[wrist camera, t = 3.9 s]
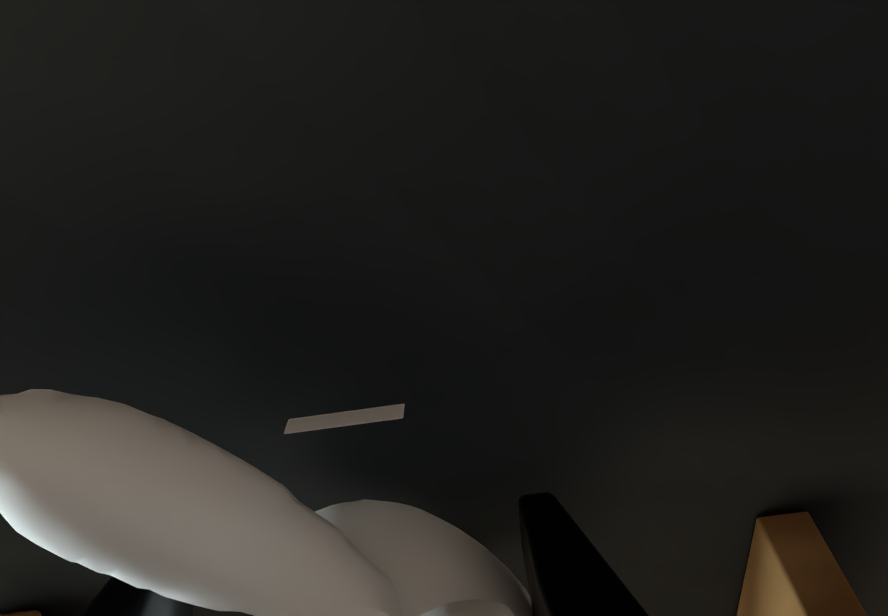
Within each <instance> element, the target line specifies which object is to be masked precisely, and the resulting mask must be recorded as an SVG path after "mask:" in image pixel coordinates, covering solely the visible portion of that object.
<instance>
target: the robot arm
mask: <svg viewBox="0 0 888 616" xmlns="http://www.w3.org/2000/svg"><path fill="white" fill-rule="evenodd" d="M519 517H520V530H521V542H522V550H523V556H524V562H525V568H526V574H527V580H528V586H529V592H530V598H531V604H532V610H533V616H648V614H647V613H646V612H645V610H644V609H643V608H642V607H641V605H640V604H639V603H638V602H637V600H636V599H635V598H634V596H633V595H632V594H631V593H630V591H629V590H628V589H627V588H626V586H625V585H624V584H623V582H622V581H621V580H620V579H619V577H618V576H617V575H616V574H615V572H614V571H613V570H612V569H611V567H610V566H609V565H608V563H607V562H606V561H605V560H604V558H603V557H602V556H601V555H600V553H599V552H598V551H597V549H596V548H595V547H594V546H593V544H592V543H591V542H590V541H589V539H588V538H587V537H586V535H585V534H584V533H583V532H582V530H581V529H580V528H579V527H578V525H577V524H576V523H575V521H574V520H573V519H572V518H571V516H570V515H569V514H568V513H567V511H566V510H565V509H564V507H563V506H562V505H561V504H560V502H559V501H558V500H557V499H556V497H555V496H553V495H552V494H551V493H549V492H544V493H536V494H528V495H523V496H521V497H520V498H519ZM192 614H193V605H192V604H188V603H185V602H181V601H178V600H174V599H171V598H167V597H164V596H162V595H160V594H158V593H156V592H153V591H151V590H149V589H141V588H136V587H134V586H132V585H130V584H128V583H126V582H123V581H121V580H119V579H117V578H115V577H113V576H112V577H111V578H110V579H109V581H108V582H107V583H106V584H105V585H104V587H103V588H102V589H101V590H100V592H99V593H98V594H97V595H96V597H95V598H94V599H93V600H92V602H91V603H90V604H89V605H88V606H87V608H86V609H85V610H84V611H83V613H82V614H81V615H80V616H192Z"/></svg>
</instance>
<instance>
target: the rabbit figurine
mask: <svg viewBox="0 0 888 616" xmlns="http://www.w3.org/2000/svg"><path fill="white" fill-rule="evenodd" d="M404 406H405V404H397V405H390V406H383V407H375V408H368V409H360V410H353V411H345V412H338V413H331V414H323V415H316V416H308V417H301V418H294V419H289V420H288V422H287V425H286V428H285V431H284V434H289V433H297V432H304V431H312V430H319V429H327V428H334V427H342V426H349V425H357V424H364V423H372V422H379V421H387V420H394V419H402V418H403V416H404ZM0 513H1V515H2V516H3V517H4V518H5V519H6V520H7V522H8V523H9V524H10V525H11V526H12V527H13V528H14V530H15V531H16V532H18V533H19V534H21V535H22V536H24V537H26V538H27V539H29V540H30V541H32V542H33V543H35V544H37V545H39V546H41V547H42V548H44V549H46V550H48V551H50V552H52V553H54V554H56V555H58V556H60V557H62V558H64V559H66V560H68V561H70V562H76V563H79V564H81V565H83V566H85V567H87V568H89V569H92V570H94V571H96V572H98V573H102V574H107V575H111V576H113V577H115V578H117V579H119V580H121V581H123V582H126V583H128V584H130V585H132V586H134V587H136V588H141V589H149V590H151V591H153V592H156V593H158V594H160V595H162V596H164V597H167V598H171V599H174V600H178V601H181V602H185V603H188V604H192V605H196V606H200V607H204V608H208V609H212V610H217V611H240V612H243V613H247V614H250V615H254V616H533V610H532V604H531V598H530V596H529V594H528V592H527V591H526V589H525V588H524V587H523V585H522V584H521V583H520V582H519V581H518V579H517V578H516V577H515V576H514V575H513V573H512V572H511V571H510V570H509V569H508V568H507V567H506V566H505V565H504V564H503V563H502V562H501V561H499V560H498V559H497V558H496V557H495V556H494V555H493V554H492V553H491V552H490V551H488V550H487V549H486V548H485V547H484V546H483V545H481V544H480V543H479V542H477V541H476V540H475V539H473V538H472V537H470V536H469V535H467V534H466V533H465V532H463V531H462V530H460V529H458V528H457V527H455V526H453V525H451V524H449V523H448V522H446V521H444V520H442V519H440V518H438V517H436V516H434V515H432V514H430V513H428V512H426V511H424V510H421V509H418V508H415V507H413V506H410V505H405V504H401V503H396V502H387V501H377V500H367V499H364V500H359V501H354V502H343V503H339V504H335V505H331V506H328V507H326V508H323V509H321V510H318V511H316V512H314V511H312V510H311V509H310V508H308V507H307V506H305V505H304V504H302V503H301V502H299V501H298V500H297V499H296V498H295V497H294V496H293V494H292V493H291V492H290V491H289V490H288V489H287V488H286V487H285V486H284V485H282V484H280V483H279V482H277V481H276V480H274V479H273V478H271V477H270V476H268V475H267V474H265V473H263V472H262V471H260V470H258V469H257V468H255V467H253V466H252V465H250V464H248V463H247V462H245V461H243V460H242V459H240V458H238V457H236V456H235V455H233V454H231V453H229V452H227V451H226V450H224V449H222V448H220V447H218V446H216V445H215V444H213V443H211V442H209V441H207V440H205V439H203V438H201V437H199V436H197V435H195V434H193V433H191V432H189V431H187V430H185V429H183V428H181V427H179V426H177V425H175V424H173V423H170V422H168V421H166V420H164V419H162V418H160V417H156V416H153V415H150V414H147V413H145V412H143V411H140V410H138V409H136V408H133V407H131V406H129V405H126V404H122V403H118V402H114V401H110V400H106V399H101V398H96V397H88V396H81V395H73V394H68V393H64V392H59V391H55V390H50V389H30V390H27V391H24V392H21V393H18V394H8V395H0Z"/></svg>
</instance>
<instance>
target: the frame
mask: <svg viewBox="0 0 888 616" xmlns="http://www.w3.org/2000/svg"><path fill="white" fill-rule="evenodd" d="M0 616H42V614H41V613H40V612H39V611H37V610H29V611H21V612H13V613H5V614H0ZM737 616H867V615H866V613H865V611H864V609H863V608H862V606H861V604H860V602H859V601H858V599H857V597H856V595H855V594H854V592H853V590H852V588H851V587H850V585H849V583H848V581H847V579H846V578H845V576H844V574H843V572H842V571H841V569H840V567H839V565H838V564H837V562H836V560H835V558H834V557H833V555H832V553H831V551H830V550H829V548H828V546H827V544H826V543H825V541H824V539H823V537H822V536H821V534H820V532H819V530H818V528H817V527H816V525H815V523H814V521H813V520H812V518H811V516H810V514H809V513H808V512H805V511H804V512H796V513H788V514H780V515H773V516H765V517H759V518H757V519H756V524H755V529H754V534H753V538H752V543H751V548H750V553H749V558H748V563H747V567H746V572H745V577H744V582H743V587H742V592H741V596H740V601H739V606H738V611H737Z"/></svg>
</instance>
